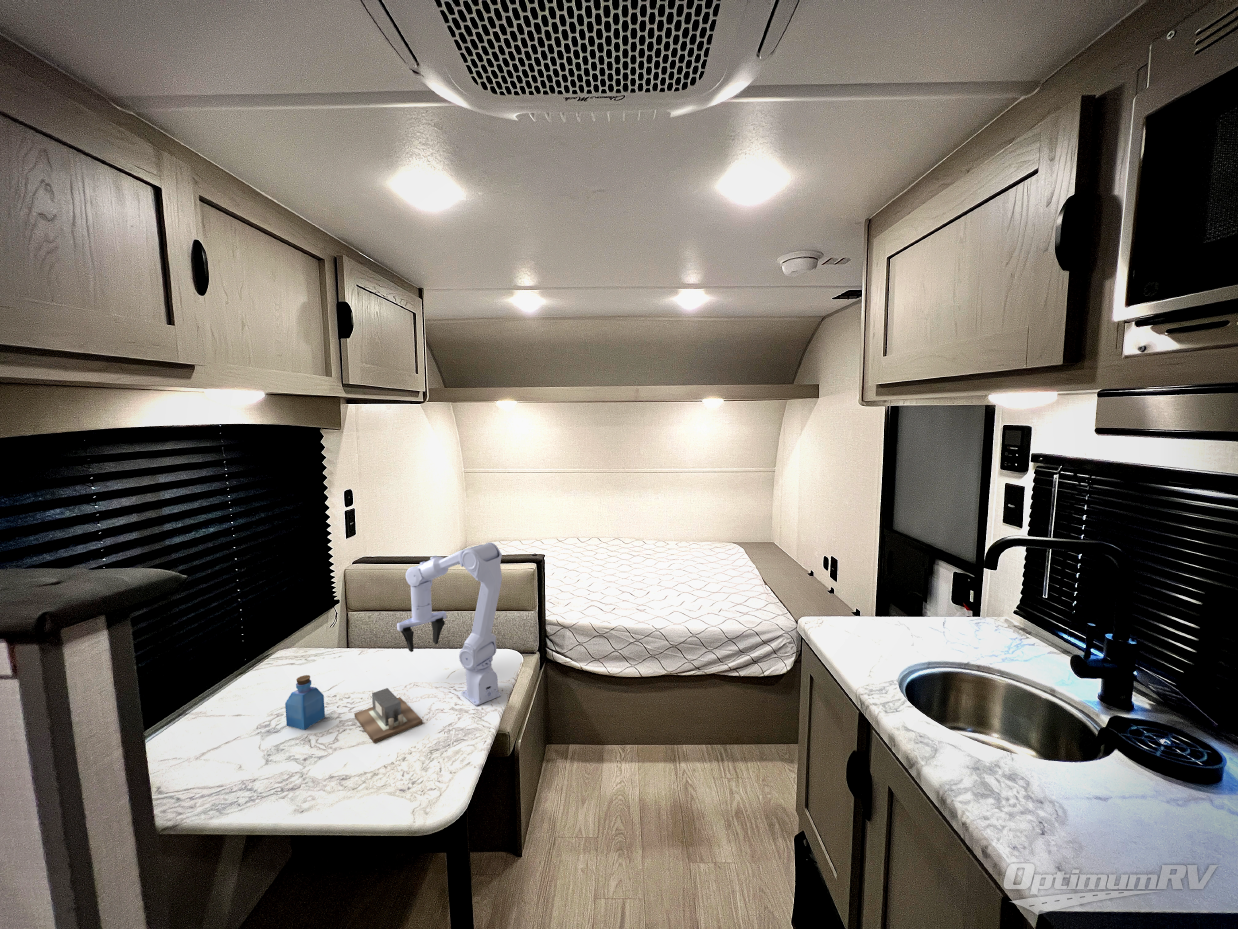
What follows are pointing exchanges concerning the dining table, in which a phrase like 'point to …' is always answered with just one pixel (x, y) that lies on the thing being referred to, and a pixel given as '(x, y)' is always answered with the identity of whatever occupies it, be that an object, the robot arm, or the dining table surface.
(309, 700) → the perfume bottle
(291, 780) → the dining table surface
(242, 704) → the dining table surface
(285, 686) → the dining table surface
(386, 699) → the block
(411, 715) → the pin tray
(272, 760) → the dining table surface
